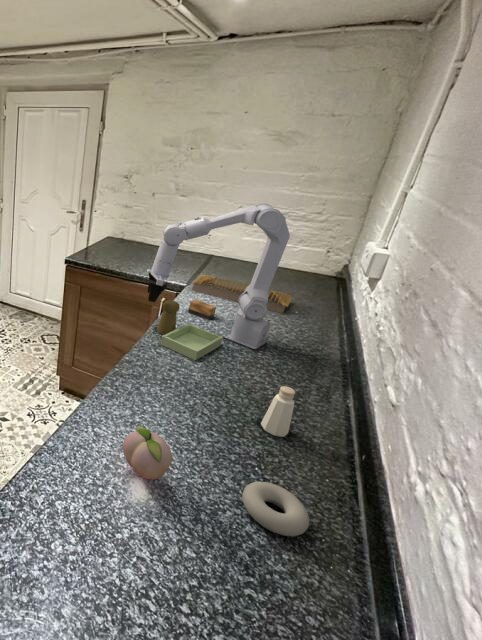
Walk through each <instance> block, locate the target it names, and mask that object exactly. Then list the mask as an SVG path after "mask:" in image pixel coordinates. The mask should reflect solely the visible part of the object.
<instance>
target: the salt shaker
mask: <svg viewBox="0 0 482 640" xmlns="http://www.w3.org/2000/svg"><path fill="white" fill-rule="evenodd" d="M295 395H296V391H295V389H294V388H292V387H290V386H285V385H282V386H280V388H279V392H278V393H277V394H276V395H275V396H274V397H273V399H272V401H271V402H270V405H269V406H268V408H267V410H266V412H265V414H264V416H263V418H262V420H261V422H260V426H261V427H262V429H263V430H264V431H265V432H266V433H268V434H271V435H272V436H275V437H281V438H282V437H283V438H285V437H286V436H287V435H288V434H289V433H290V427H291V423H292V417H293V413H294V408H295V403H296V402H295V400H294V397H295Z"/></svg>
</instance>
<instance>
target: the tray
mask: <svg viewBox="0 0 482 640" xmlns="http://www.w3.org/2000/svg"><path fill="white" fill-rule="evenodd" d="M223 339H224V337H223V336H221V335H218V334H216V333H213V332H211V331H208V330H206V329H204V328H201V327H199V326H196V325H194V324H191V323H187V324H185V325H183V326H182V325H181V326H180V327H178V328H176V330H174V331H172V332H170V333H167V334H165V335H164V334H162V336H161V340H160V345H161V346H163V347H165V348H168V349H169V350H172V351H173V352H176V353H178V354H180V355H182V356H184V357H187V358H189V359H191V360H192V361H197V360H199V359H200V358H202V357H204V356H205V355H207V354H209V353H211V352H212V351H214V350H216V349H218V348H219V347H221V346H222V342H223Z"/></svg>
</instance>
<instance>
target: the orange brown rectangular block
mask: <svg viewBox="0 0 482 640" xmlns="http://www.w3.org/2000/svg"><path fill="white" fill-rule="evenodd" d="M216 309H217V306H216V305H212V304H209V303H207V302H205V301H202V300H199V299H193V300H190V301H189V307H188V311H187V313H189V314H192V315H195V316H197V317H200V318H203V319H205V320H207V321H209V320H211V319H214V318H215V313H216Z"/></svg>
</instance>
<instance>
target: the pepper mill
mask: <svg viewBox="0 0 482 640" xmlns="http://www.w3.org/2000/svg"><path fill="white" fill-rule="evenodd" d="M179 310H180V304H179V303H178V302H177V301H176V300H171V299H168V300H165V301H164V302H163V303H162V313H161V316H160V318H159V322H158V324H157V327H156V331H157V332H158V333H159V334H161V335H165V334H167V333H170V332H172V331H174V330H176V329H177V328H176V327H177V314H178V313H177V312H179Z"/></svg>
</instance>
